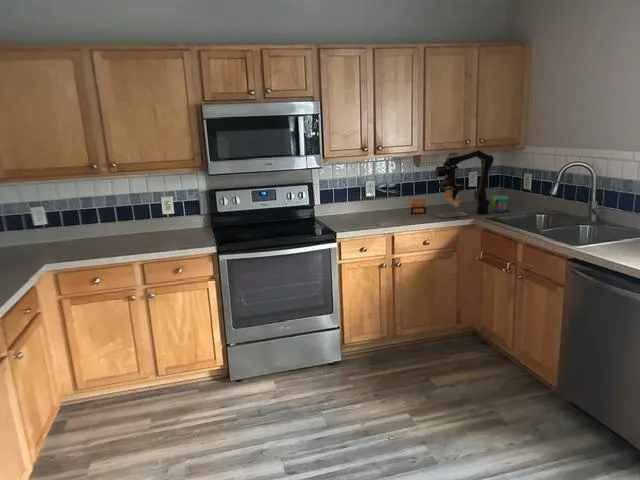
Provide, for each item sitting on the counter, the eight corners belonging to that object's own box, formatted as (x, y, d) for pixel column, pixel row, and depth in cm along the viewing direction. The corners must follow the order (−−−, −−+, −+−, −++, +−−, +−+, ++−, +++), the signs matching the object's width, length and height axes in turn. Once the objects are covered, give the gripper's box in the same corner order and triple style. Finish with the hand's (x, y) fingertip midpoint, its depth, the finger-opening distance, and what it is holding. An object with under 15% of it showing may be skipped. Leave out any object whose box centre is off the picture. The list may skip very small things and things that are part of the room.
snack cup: (501, 208, 361) (502, 194, 359) (513, 210, 352) (514, 196, 350) (485, 211, 354) (486, 197, 351) (497, 213, 345) (498, 198, 342)
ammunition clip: (410, 214, 356) (410, 197, 353) (410, 213, 358) (410, 197, 355) (426, 213, 356) (426, 196, 353) (425, 213, 357) (425, 196, 354)
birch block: (456, 199, 349) (447, 188, 343) (462, 200, 344) (452, 189, 338) (452, 206, 348) (442, 195, 342) (457, 207, 343) (448, 196, 337)
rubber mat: (461, 213, 353) (461, 211, 352) (469, 215, 342) (469, 214, 342) (434, 215, 349) (434, 214, 349) (441, 218, 338) (441, 217, 338)
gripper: (432, 175, 343) (432, 198, 347) (451, 178, 327) (451, 202, 331) (445, 174, 348) (444, 196, 352) (464, 176, 332) (464, 200, 336)
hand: (450, 199), depth 343 cm, fingers closed on birch block, 5 cm apart
